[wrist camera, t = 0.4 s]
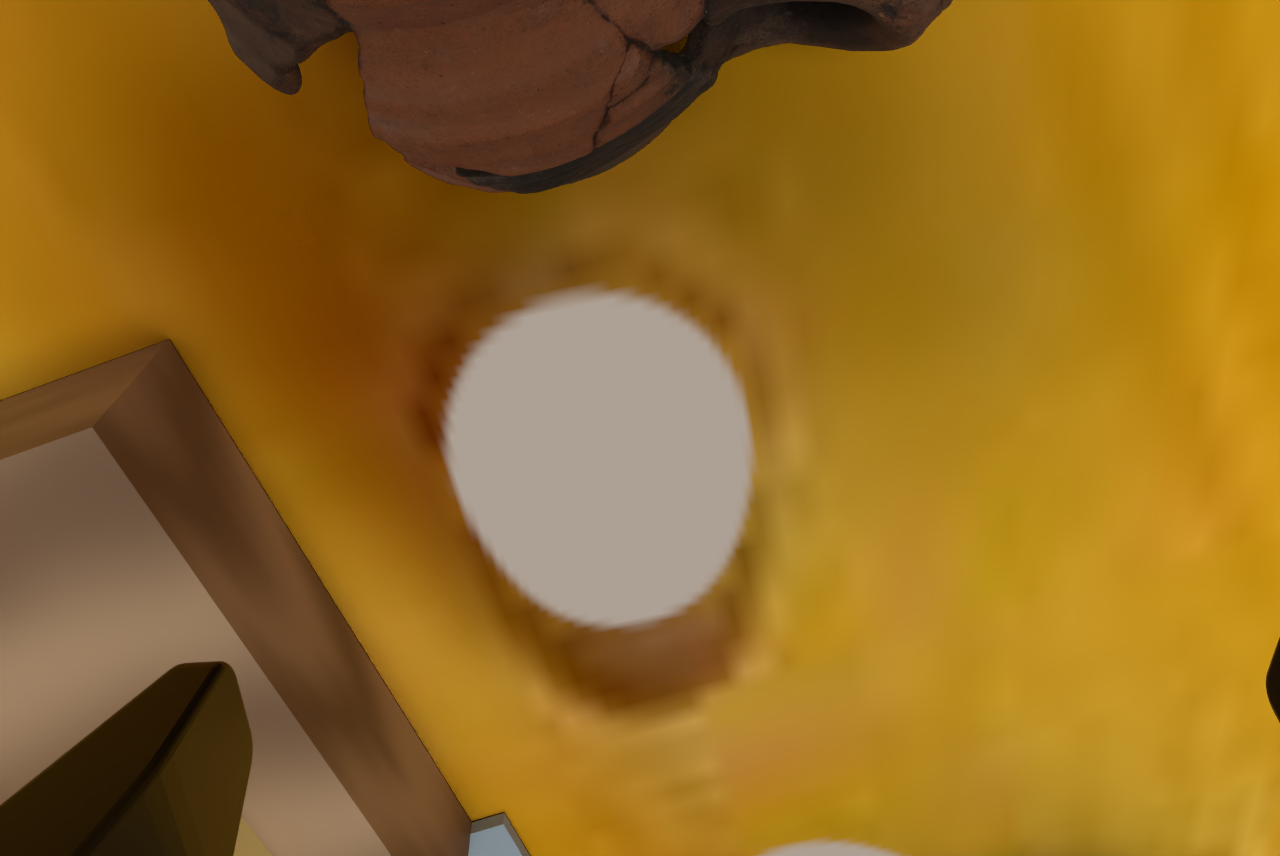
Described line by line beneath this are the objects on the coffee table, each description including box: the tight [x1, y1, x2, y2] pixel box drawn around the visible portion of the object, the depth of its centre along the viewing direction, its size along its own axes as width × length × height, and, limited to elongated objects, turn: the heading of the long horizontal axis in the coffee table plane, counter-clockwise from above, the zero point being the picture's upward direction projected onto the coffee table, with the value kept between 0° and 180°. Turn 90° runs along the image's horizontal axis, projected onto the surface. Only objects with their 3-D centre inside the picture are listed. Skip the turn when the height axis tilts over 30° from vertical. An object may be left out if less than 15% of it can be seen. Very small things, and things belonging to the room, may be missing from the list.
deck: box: [0, 340, 472, 856], centre depth 25 cm, size 16×14×4 cm
